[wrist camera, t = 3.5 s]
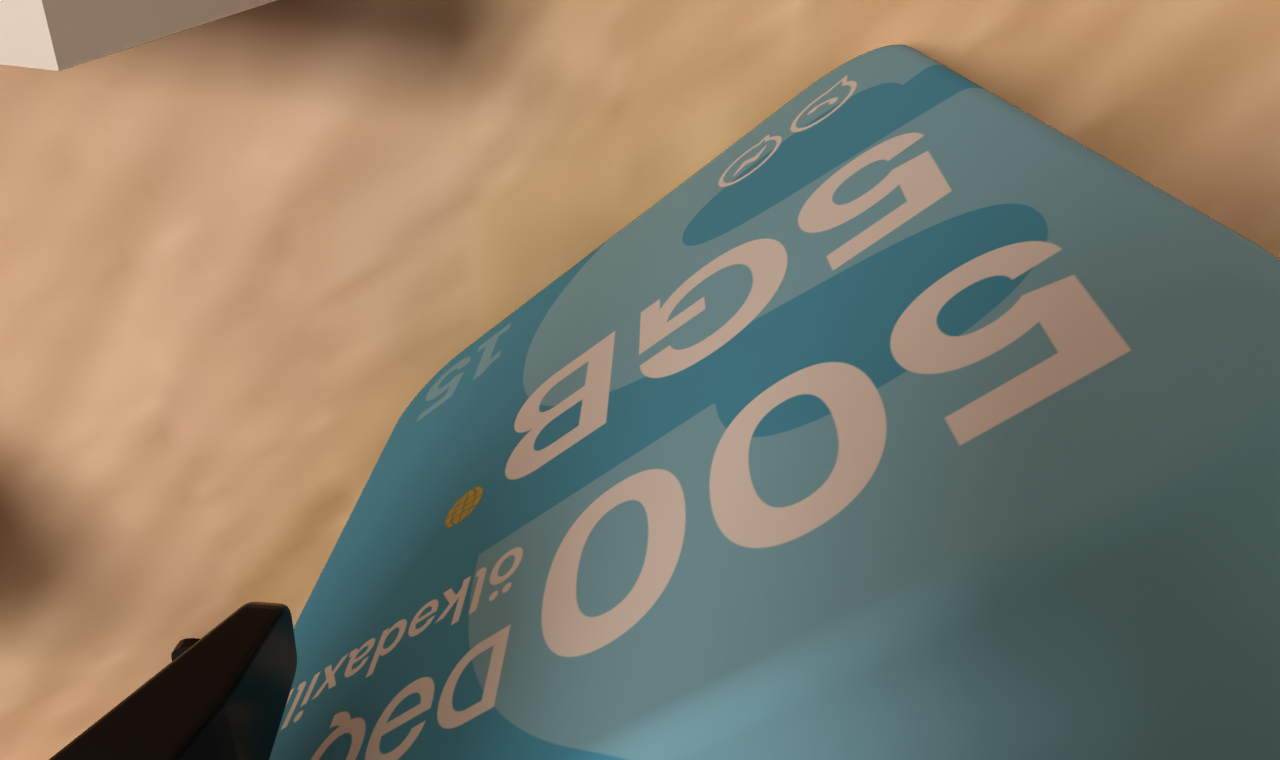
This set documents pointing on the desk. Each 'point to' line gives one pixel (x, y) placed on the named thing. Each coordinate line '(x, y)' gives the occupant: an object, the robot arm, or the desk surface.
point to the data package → (836, 472)
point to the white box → (97, 27)
